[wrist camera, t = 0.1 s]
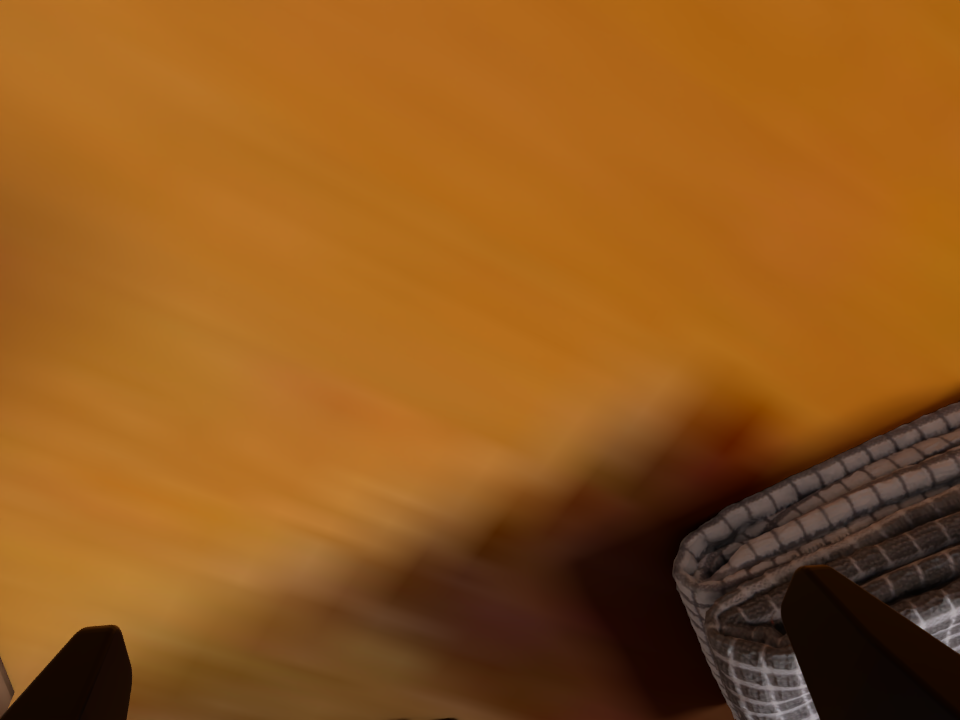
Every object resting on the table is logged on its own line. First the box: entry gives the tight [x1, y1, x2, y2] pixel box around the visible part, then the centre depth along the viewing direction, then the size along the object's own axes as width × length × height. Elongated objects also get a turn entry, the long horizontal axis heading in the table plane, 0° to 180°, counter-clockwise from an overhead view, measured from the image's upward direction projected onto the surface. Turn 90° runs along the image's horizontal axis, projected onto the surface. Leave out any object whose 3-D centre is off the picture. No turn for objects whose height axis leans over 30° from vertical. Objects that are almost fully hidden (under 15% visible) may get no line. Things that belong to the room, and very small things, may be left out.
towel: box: [672, 401, 960, 720], centre depth 31 cm, size 15×18×8 cm
